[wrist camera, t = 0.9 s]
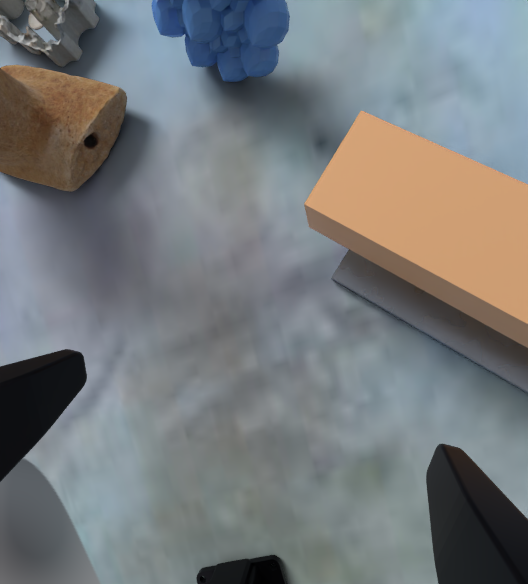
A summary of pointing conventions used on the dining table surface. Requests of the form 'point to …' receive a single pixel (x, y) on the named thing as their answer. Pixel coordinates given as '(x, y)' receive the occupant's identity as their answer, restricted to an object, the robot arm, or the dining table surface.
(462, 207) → the orange wooden beam
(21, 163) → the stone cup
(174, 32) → the grapes
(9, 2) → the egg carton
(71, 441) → the dining table surface
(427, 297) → the label plate
